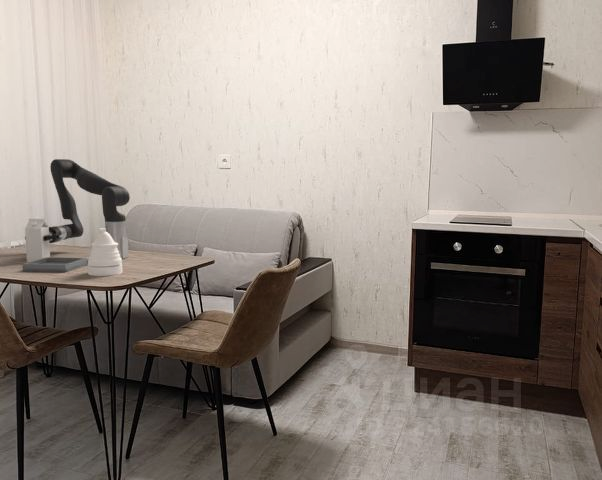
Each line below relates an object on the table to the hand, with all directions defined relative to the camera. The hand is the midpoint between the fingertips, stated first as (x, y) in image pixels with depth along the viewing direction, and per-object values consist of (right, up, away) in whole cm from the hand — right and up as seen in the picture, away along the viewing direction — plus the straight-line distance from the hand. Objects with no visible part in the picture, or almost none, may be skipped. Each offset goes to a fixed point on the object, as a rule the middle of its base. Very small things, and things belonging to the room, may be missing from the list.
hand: (35, 238), depth 245 cm
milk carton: (0, -10, +3) cm, 11 cm away
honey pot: (+40, -14, -24) cm, 49 cm away
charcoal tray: (+16, -12, -14) cm, 24 cm away
